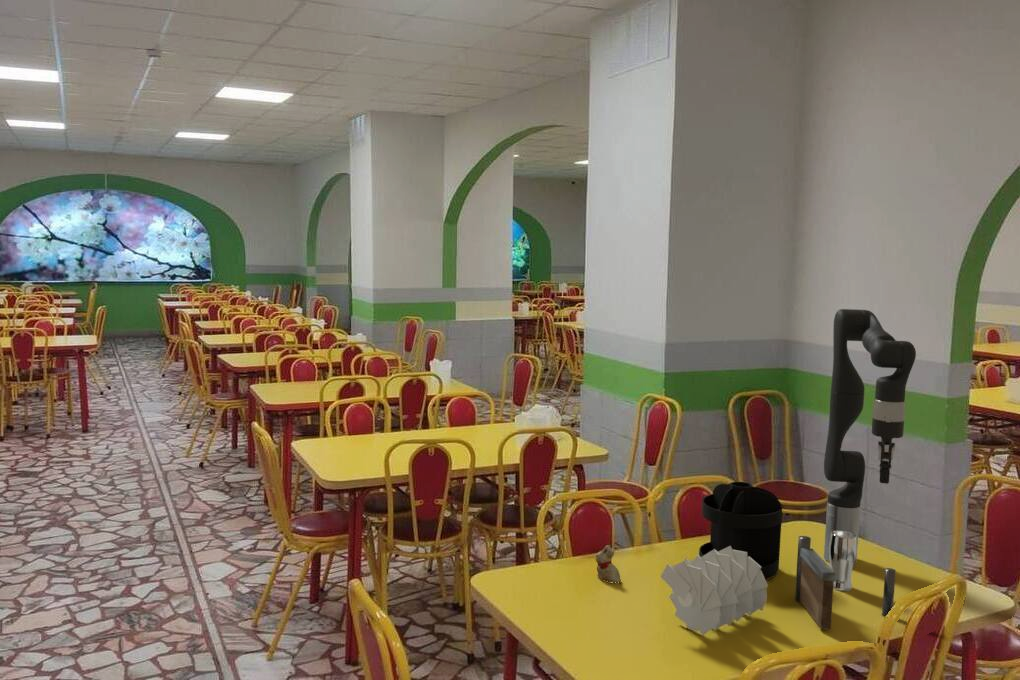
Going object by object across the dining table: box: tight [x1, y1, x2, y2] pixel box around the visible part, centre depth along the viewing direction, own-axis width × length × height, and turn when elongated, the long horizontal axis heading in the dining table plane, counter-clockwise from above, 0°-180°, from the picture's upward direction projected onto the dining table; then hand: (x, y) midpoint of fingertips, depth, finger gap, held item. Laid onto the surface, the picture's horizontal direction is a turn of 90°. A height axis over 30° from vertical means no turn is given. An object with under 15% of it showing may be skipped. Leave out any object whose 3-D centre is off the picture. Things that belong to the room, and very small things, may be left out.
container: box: [698, 481, 783, 581], centre depth 245 cm, size 22×23×25 cm
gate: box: [799, 548, 836, 630], centre depth 213 cm, size 3×17×14 cm, turn 178°
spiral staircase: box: [660, 546, 769, 636], centre depth 208 cm, size 18×18×25 cm
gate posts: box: [794, 535, 897, 618], centre depth 219 cm, size 3×24×17 cm, turn 66°
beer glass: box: [829, 530, 856, 592], centre depth 234 cm, size 7×7×15 cm
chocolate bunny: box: [595, 544, 622, 584], centre depth 235 cm, size 6×8×10 cm
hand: (884, 479), depth 221 cm, fingers open, 8 cm apart
